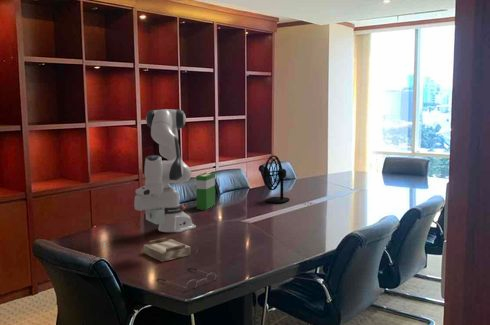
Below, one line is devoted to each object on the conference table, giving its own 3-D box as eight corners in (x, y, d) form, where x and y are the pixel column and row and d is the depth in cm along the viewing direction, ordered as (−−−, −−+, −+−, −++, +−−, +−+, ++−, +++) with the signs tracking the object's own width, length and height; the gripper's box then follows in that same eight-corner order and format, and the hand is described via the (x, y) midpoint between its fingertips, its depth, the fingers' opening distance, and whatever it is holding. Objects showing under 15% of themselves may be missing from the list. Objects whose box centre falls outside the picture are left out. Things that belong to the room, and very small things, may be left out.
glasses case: (154, 218, 238) (153, 206, 237) (164, 223, 228) (164, 210, 228) (145, 219, 235) (145, 207, 235) (156, 224, 226) (155, 212, 225)
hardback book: (205, 204, 351) (205, 172, 348) (215, 205, 349) (214, 172, 346) (196, 209, 334) (196, 176, 331) (206, 210, 332) (206, 176, 329)
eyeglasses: (185, 292, 187) (185, 283, 186) (156, 282, 199) (155, 273, 199) (218, 280, 200) (217, 271, 200) (188, 271, 213) (187, 262, 212)
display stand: (171, 246, 246) (171, 236, 246) (190, 254, 233) (190, 243, 232) (143, 252, 236) (143, 242, 235) (162, 261, 223) (162, 250, 222)
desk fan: (273, 197, 379) (274, 153, 375) (294, 199, 371) (294, 154, 367) (258, 203, 356) (258, 156, 352) (279, 205, 347) (279, 158, 343)
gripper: (169, 185, 239) (170, 212, 241) (132, 190, 226) (133, 218, 228) (176, 187, 234) (176, 214, 236) (138, 192, 221) (139, 221, 223)
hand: (155, 216), depth 232 cm, fingers closed on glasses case, 5 cm apart
